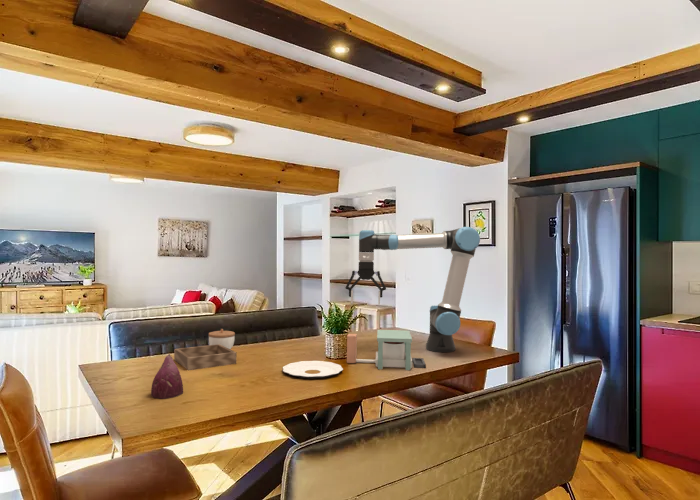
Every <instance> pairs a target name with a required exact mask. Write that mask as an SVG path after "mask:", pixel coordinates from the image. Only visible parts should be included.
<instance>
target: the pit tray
mask: <svg viewBox="0 0 700 500" xmlns="http://www.w3.org/2000/svg"><path fill="white" fill-rule="evenodd" d="M411 358H412V366H413V368H414V369H427V368H426V366H427V364H426V362H425V360H424V358H421V357H411Z"/></svg>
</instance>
